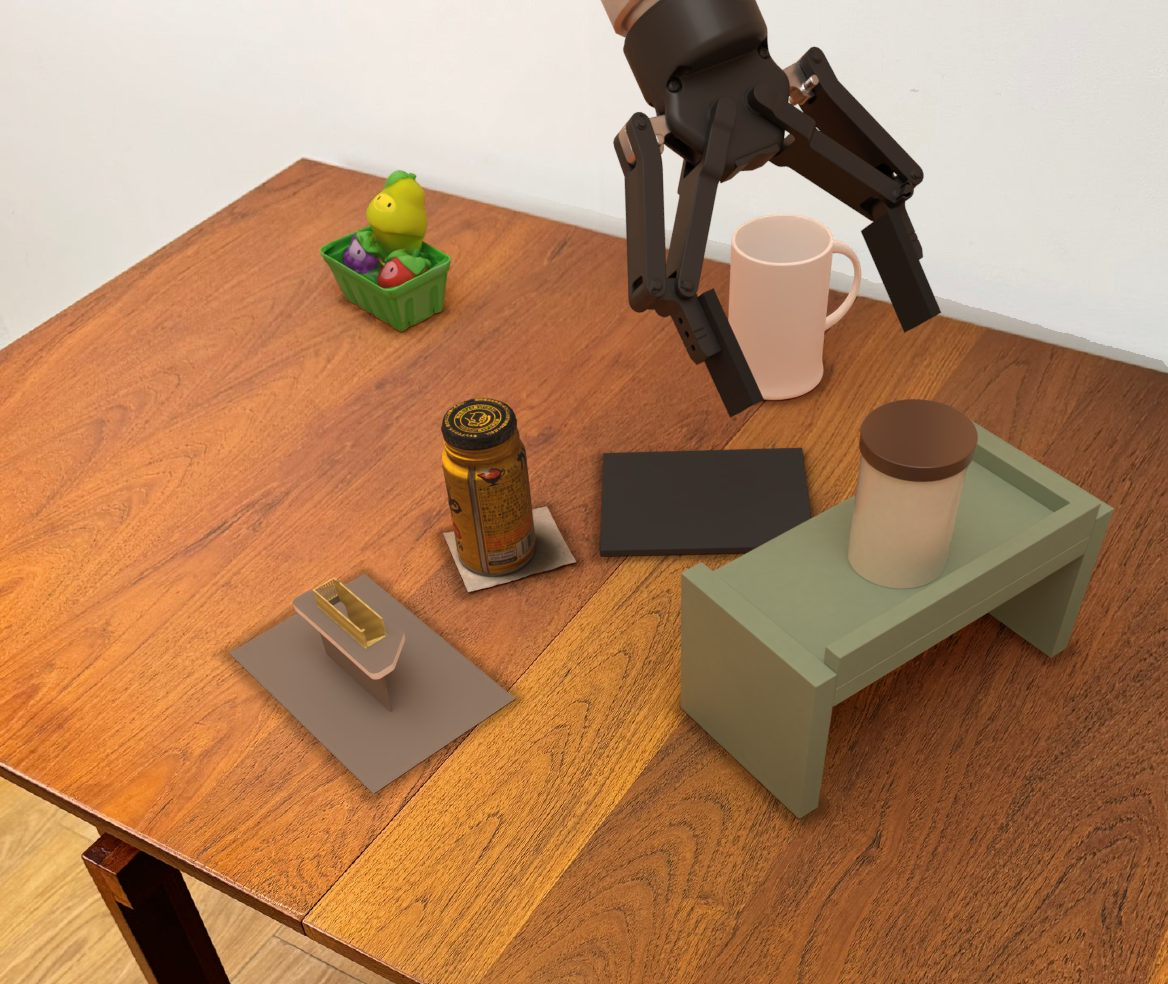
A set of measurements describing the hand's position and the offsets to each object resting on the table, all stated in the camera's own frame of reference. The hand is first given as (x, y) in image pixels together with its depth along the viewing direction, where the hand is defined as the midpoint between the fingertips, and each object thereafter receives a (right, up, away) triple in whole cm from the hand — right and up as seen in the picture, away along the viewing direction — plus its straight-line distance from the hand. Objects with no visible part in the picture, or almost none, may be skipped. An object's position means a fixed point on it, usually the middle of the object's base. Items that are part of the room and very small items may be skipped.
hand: (837, 365), depth 73 cm
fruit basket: (-32, +21, +46) cm, 60 cm away
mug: (+3, +11, +36) cm, 38 cm away
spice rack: (+5, -17, +12) cm, 22 cm away
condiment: (-20, -7, +23) cm, 31 cm away
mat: (-5, -2, +25) cm, 26 cm away
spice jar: (+4, -10, +4) cm, 12 cm away
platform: (-30, -17, +15) cm, 38 cm away
